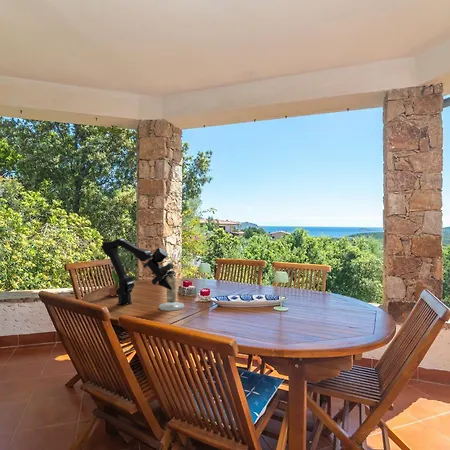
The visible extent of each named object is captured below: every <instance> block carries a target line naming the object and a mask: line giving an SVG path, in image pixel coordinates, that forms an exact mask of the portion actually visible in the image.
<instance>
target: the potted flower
mask: <svg viewBox="0 0 450 450" xmlns="http://www.w3.org/2000/svg"><path fill="white" fill-rule="evenodd" d="M107 263H110V265H109V266H110V267H112V269H111V278H112V279H113V282H114V284H115V285H110V286H108V292H107V294H108V296H110V295H113V296H112V297H116V296H115V295H117V294H116V290H117V289H118V288H119V278H118V275H117V273H116V271H115V269H114V266H113V264H112V263H111V260H110V259H109V260H108V262H107Z"/></svg>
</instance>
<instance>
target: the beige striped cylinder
mask: <svg viewBox="0 0 450 450" xmlns="http://www.w3.org/2000/svg"><path fill="white" fill-rule="evenodd" d="M167 282H168V283H169V285H170V286H171V288H172V289H171V290H169V289H167V288H166V303H174V302H177V297H176V296H177V293H176V292H177V283H176V282H177V278H176V276H175V275H173V274H169V276H168V277H167Z"/></svg>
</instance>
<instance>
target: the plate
mask: <svg viewBox="0 0 450 450" xmlns="http://www.w3.org/2000/svg"><path fill="white" fill-rule="evenodd" d="M184 308H185V304H184V303H183V302H177V301H176V302H174V303H168V302H165V303H161V304H159V306H158V309H159V310H161V311H167V312H173V311H174V312H175V311H180V310H182V309H184Z"/></svg>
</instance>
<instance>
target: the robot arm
mask: <svg viewBox="0 0 450 450" xmlns="http://www.w3.org/2000/svg"><path fill="white" fill-rule="evenodd" d="M120 247H121V248H122V249H125V250H126V251H128V252H130V253H131V254H133V255H134V256H135V257H136V258H137V259H138V260H139V261H140V262H144V263H143V268H144V269H145V268H148V269H149V270H150V271H151V272H152V273H151V274H152V275H153V276H155V277H154V278H152V280H151V283H152V285H153V286H156V285H157V286H160V287H163V288H166V290H167V289H169V290H171V289H172V288H171V286H170V285H169V283H168V282H167V277H168V276H169V274H173V276H175V274H176V272H175V270H173V269H174V266H175V264H173V263H172V262H168V263H167V264H166V265H161V264H160V263H162V262H163V261H164V260H165V259H166V258H167V257H168V252H167V251H166V250H164V249H163V248H161V247H158V248H157V249H156V250H155V251H154V252H152V251H150V250H148V249H146V248H140V247H138V246H136V245H135V244H133V243H131V242H129V241H128V240H126V239H125V238H123V237H122V238H116V239H114V240H110V241H104V242H103V243H102V245H101V249H102V251H103V253H104V254H105V255H106V256H107V257H108V258H109V260H110V263H111V264H113V266H114V267H113V269H115V271H116V272H115V271H114V272H115V274H116V273H117V275H118V278H119V282H118V285H119V288H118V289H117V290H116V294H117V295H118V296H117V300H118V301H117V303H120V304H127V303H131V304H133V302H132V295H131V293H133V289H134V288H135V281H134V279H133V277H132V276H128V275H127V273H126V271H125V268H124V265H123V264H122V261H121V259H120V257H119V255H118V249H119V248H120ZM120 304H119V305H120ZM127 305H128V304H127Z"/></svg>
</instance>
